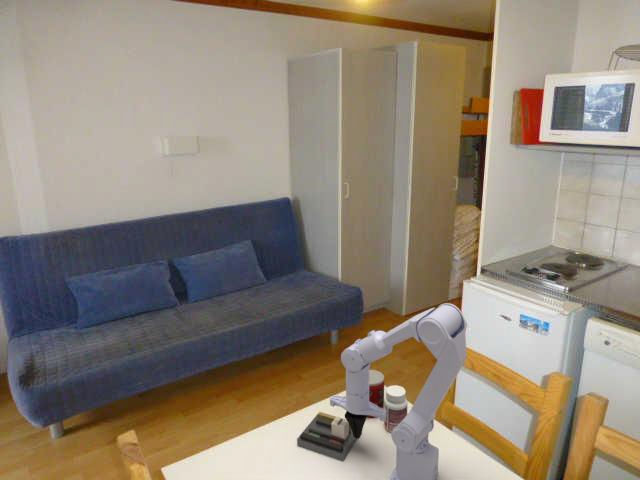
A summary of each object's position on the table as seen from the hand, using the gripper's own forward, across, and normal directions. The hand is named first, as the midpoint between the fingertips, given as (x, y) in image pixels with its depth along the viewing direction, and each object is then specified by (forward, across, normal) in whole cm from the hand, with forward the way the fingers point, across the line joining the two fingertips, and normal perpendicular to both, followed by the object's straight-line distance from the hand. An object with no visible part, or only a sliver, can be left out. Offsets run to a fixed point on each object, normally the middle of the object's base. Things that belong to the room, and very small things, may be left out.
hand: (357, 435), depth 120 cm
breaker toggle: (+2, +5, 0) cm, 5 cm away
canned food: (+4, +3, -16) cm, 17 cm away
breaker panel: (+4, +8, 0) cm, 9 cm away
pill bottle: (+4, -6, -12) cm, 14 cm away
